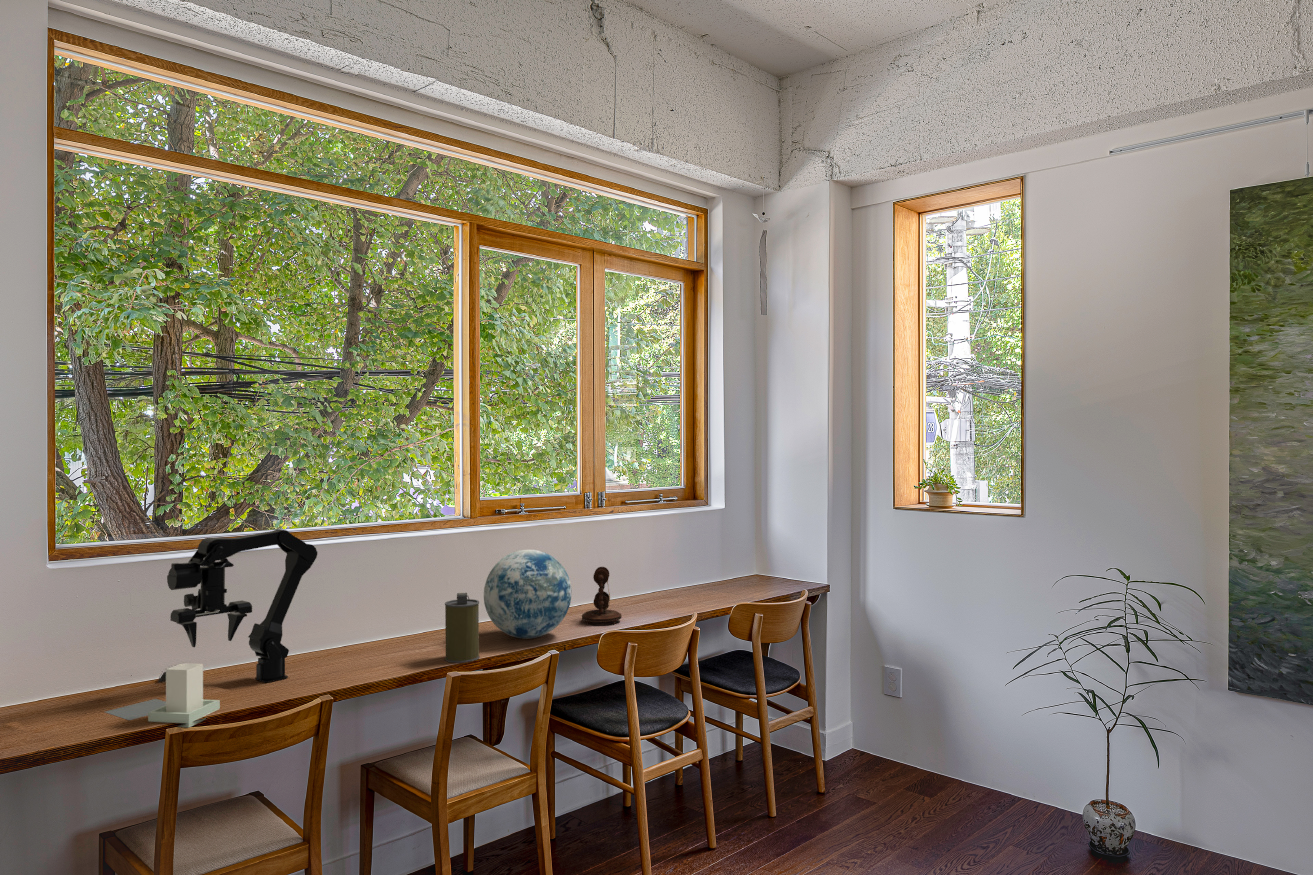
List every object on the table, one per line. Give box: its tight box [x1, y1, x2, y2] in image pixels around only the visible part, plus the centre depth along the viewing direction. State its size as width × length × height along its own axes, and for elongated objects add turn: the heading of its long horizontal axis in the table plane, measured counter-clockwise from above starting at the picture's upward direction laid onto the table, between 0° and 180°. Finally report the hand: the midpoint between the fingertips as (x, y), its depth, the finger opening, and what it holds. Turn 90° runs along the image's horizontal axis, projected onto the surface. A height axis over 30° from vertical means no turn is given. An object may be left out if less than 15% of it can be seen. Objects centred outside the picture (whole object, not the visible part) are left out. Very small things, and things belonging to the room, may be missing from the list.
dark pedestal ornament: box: [581, 566, 622, 625], centre depth 303 cm, size 15×15×20 cm
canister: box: [444, 592, 480, 664], centre depth 251 cm, size 11×10×20 cm
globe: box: [483, 549, 573, 640], centre depth 278 cm, size 30×30×30 cm
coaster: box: [104, 698, 166, 721], centre depth 201 cm, size 12×12×1 cm
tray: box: [147, 698, 221, 729], centre depth 196 cm, size 11×11×3 cm
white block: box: [165, 662, 204, 713], centre depth 196 cm, size 6×6×12 cm
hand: (212, 643), depth 217 cm, fingers open, 9 cm apart
